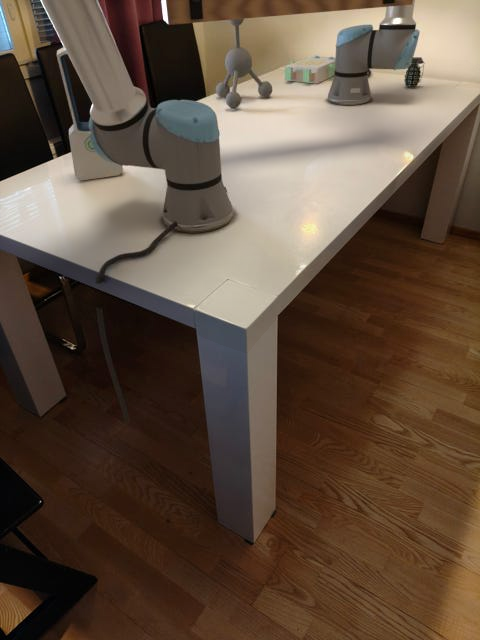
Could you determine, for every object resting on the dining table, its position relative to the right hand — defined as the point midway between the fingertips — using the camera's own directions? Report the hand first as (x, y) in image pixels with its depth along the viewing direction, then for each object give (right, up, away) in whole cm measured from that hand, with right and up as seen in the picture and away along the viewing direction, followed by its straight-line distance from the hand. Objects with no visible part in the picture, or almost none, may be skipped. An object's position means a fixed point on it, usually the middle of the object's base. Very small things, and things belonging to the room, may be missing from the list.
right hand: (378, 1), depth 121 cm
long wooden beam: (-23, -5, -3) cm, 23 cm away
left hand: (-45, -9, -8) cm, 47 cm away
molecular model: (-32, +4, +63) cm, 71 cm away
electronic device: (-72, -40, +10) cm, 83 cm away
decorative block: (-4, +24, +87) cm, 91 cm away
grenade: (+32, +11, +67) cm, 75 cm away
